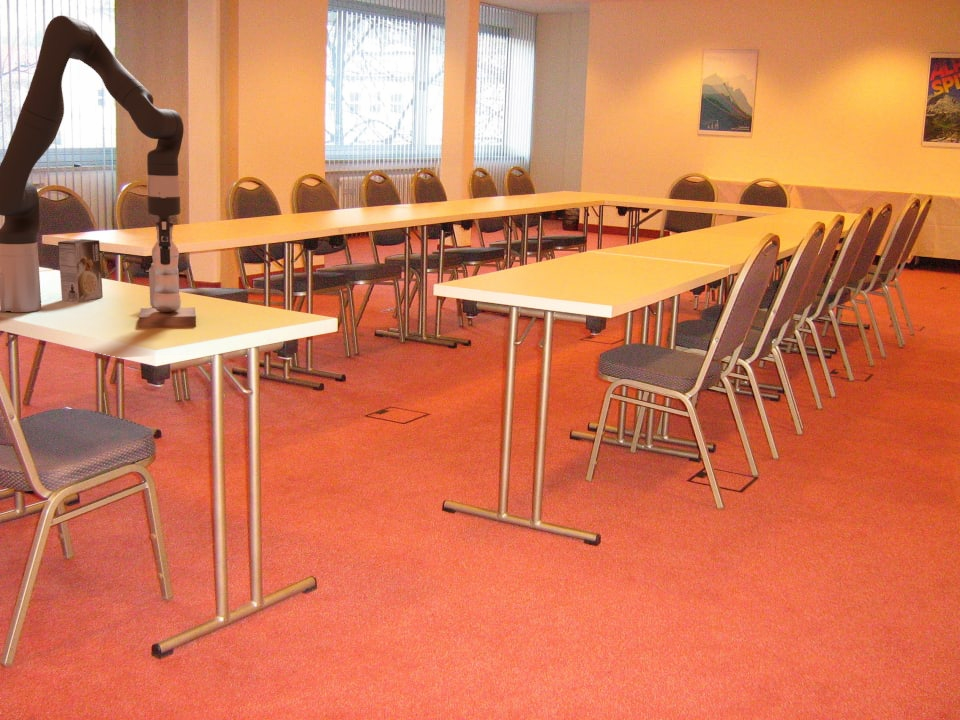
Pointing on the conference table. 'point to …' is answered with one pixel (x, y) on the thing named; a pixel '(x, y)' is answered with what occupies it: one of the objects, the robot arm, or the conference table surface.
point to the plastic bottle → (166, 280)
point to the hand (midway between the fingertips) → (165, 262)
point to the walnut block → (167, 318)
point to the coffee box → (80, 270)
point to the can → (152, 283)
